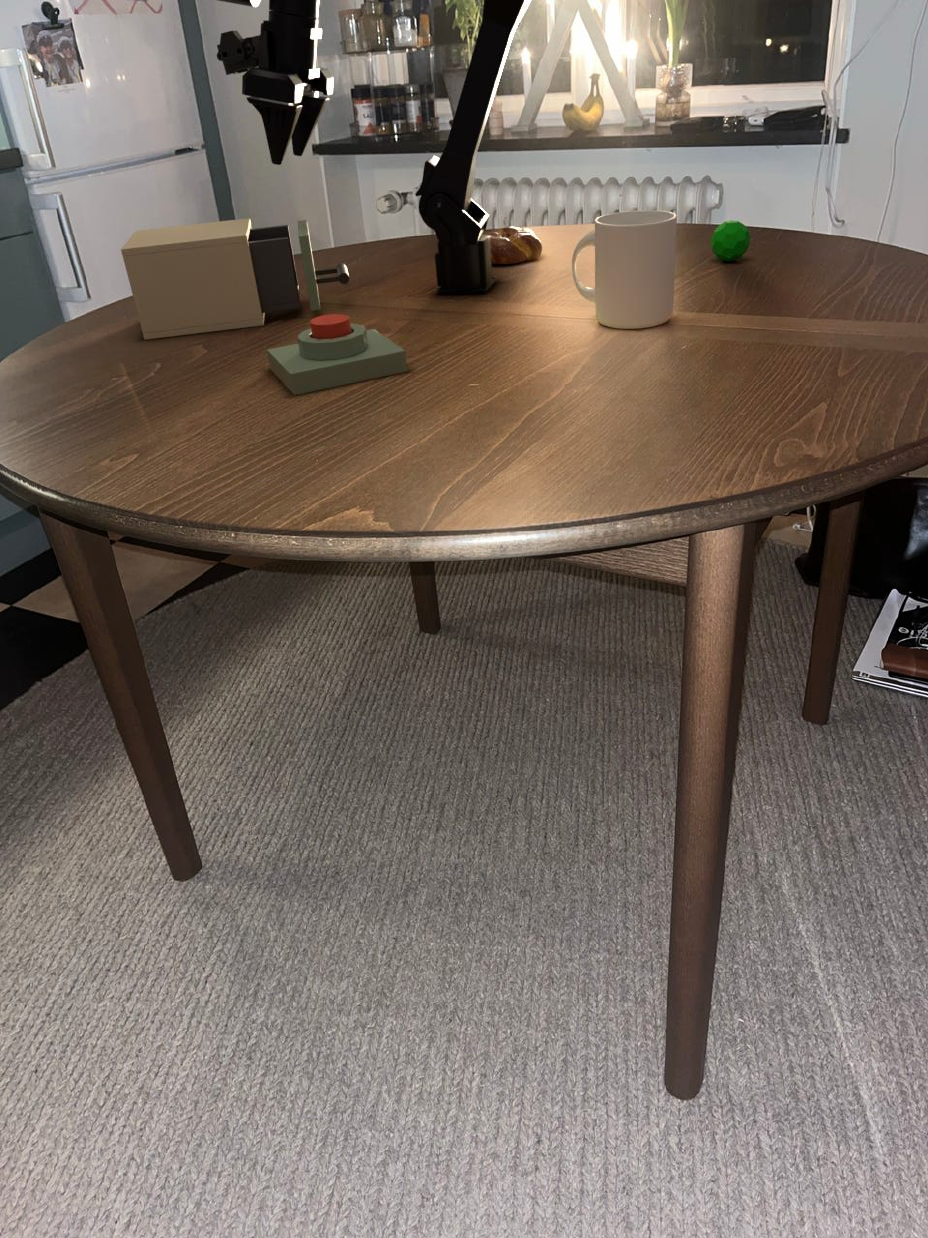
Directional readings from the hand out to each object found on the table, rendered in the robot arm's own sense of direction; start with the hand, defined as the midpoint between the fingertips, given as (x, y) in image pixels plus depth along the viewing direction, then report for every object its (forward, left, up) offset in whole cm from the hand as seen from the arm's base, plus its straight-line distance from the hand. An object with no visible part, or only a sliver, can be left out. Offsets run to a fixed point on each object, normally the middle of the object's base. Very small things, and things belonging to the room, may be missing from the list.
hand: (287, 159), depth 119 cm
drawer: (+1, +7, -16) cm, 18 cm away
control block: (-17, +31, -17) cm, 39 cm away
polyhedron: (-55, -16, -17) cm, 59 cm away
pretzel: (-23, -21, -17) cm, 35 cm away
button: (-17, +31, -13) cm, 38 cm away
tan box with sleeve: (+9, +11, -17) cm, 22 cm away
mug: (-44, +12, -17) cm, 48 cm away
